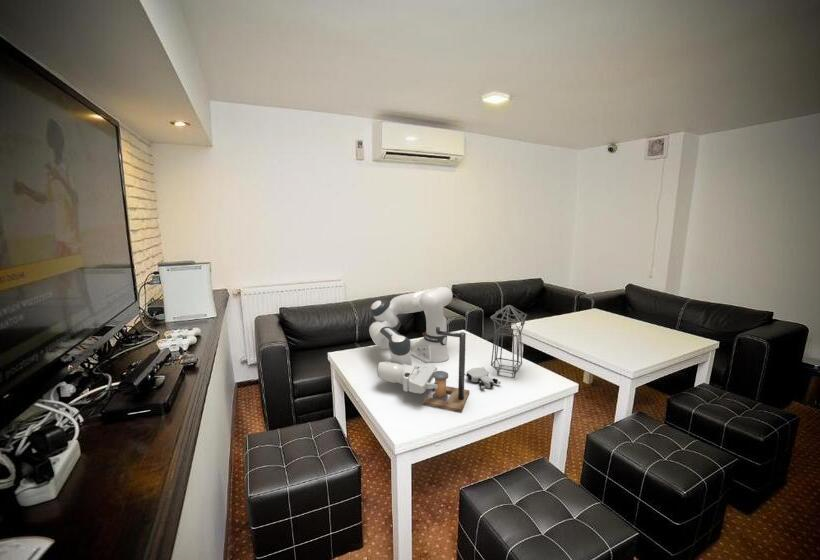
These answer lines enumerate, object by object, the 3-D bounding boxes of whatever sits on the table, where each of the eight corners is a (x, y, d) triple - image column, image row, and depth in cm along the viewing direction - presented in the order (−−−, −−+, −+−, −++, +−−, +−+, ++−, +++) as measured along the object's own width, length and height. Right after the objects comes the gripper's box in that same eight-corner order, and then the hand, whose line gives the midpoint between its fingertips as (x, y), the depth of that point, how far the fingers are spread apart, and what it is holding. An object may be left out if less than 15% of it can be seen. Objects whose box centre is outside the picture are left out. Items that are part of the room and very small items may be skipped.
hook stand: (434, 394, 144) (435, 328, 138) (436, 392, 146) (436, 326, 141) (463, 400, 140) (465, 331, 134) (464, 397, 142) (466, 330, 136)
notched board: (423, 405, 139) (423, 401, 139) (434, 387, 154) (434, 384, 154) (461, 412, 133) (461, 409, 133) (469, 393, 148) (469, 390, 148)
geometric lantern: (487, 376, 164) (489, 307, 158) (494, 364, 178) (497, 300, 172) (520, 383, 157) (523, 310, 151) (525, 370, 170) (529, 303, 165)
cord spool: (430, 398, 144) (430, 374, 142) (438, 392, 149) (439, 369, 147) (442, 403, 140) (442, 379, 138) (450, 397, 145) (451, 373, 143)
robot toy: (502, 388, 154) (481, 372, 167) (503, 379, 153) (482, 364, 166) (481, 394, 149) (461, 378, 162) (482, 385, 148) (462, 370, 161)
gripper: (418, 372, 158) (447, 377, 153) (402, 393, 139) (434, 399, 134) (418, 359, 157) (447, 364, 152) (402, 379, 138) (434, 385, 133)
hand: (441, 380), depth 143 cm, fingers open, 8 cm apart
